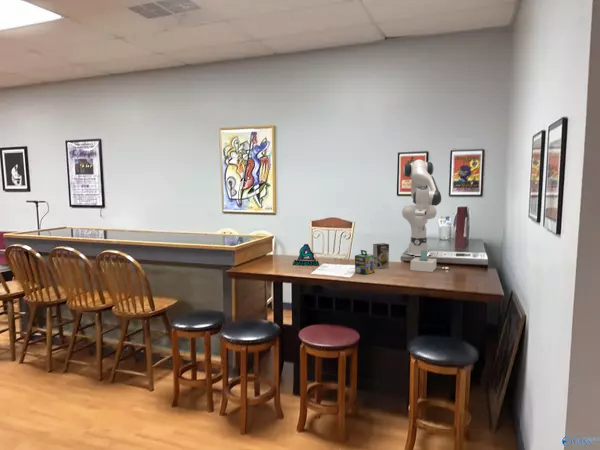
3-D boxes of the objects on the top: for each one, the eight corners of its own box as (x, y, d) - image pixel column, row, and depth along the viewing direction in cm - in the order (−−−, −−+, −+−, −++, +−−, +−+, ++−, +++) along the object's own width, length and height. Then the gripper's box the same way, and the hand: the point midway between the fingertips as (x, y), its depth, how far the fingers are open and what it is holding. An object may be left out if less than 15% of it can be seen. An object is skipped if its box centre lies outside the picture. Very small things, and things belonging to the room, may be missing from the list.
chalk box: (374, 272, 266) (374, 249, 265) (365, 275, 260) (365, 251, 259) (363, 270, 273) (363, 248, 272) (354, 272, 267) (354, 250, 266)
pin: (421, 264, 277) (421, 250, 276) (427, 265, 275) (427, 250, 274) (419, 265, 274) (420, 251, 273) (426, 266, 272) (426, 251, 271)
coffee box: (377, 268, 277) (377, 245, 275) (372, 267, 283) (372, 243, 281) (389, 267, 280) (389, 244, 278) (383, 265, 286) (384, 242, 284)
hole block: (415, 265, 284) (415, 257, 284) (436, 267, 278) (436, 258, 277) (410, 270, 272) (410, 261, 271) (432, 272, 265) (432, 262, 265)
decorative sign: (319, 265, 291) (319, 244, 289) (318, 266, 289) (318, 244, 287) (293, 264, 296) (293, 243, 294) (292, 265, 293) (292, 244, 292)
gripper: (420, 209, 285) (419, 229, 287) (413, 212, 267) (413, 233, 269) (429, 209, 282) (429, 229, 284) (423, 213, 264) (423, 234, 266)
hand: (421, 231), depth 276 cm, fingers open, 8 cm apart
